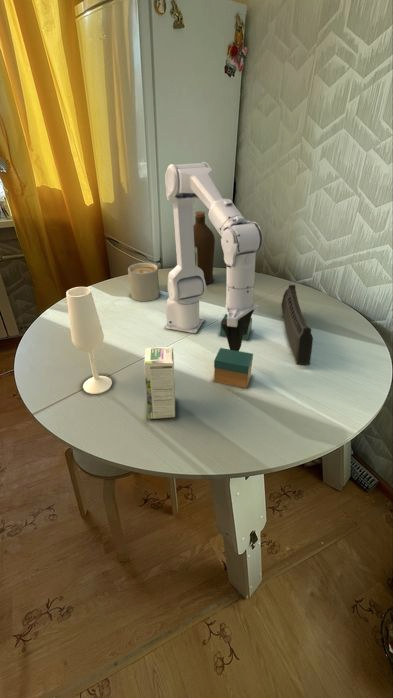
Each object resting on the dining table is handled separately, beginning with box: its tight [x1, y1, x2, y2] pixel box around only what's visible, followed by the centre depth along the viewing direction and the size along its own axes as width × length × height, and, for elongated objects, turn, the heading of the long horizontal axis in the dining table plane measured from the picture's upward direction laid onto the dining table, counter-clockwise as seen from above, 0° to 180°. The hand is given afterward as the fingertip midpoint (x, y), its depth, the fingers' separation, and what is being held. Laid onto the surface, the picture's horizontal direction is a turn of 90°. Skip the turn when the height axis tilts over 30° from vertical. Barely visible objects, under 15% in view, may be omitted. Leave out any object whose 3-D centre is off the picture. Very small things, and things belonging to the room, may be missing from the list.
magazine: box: [281, 284, 314, 367], centre depth 98 cm, size 17×3×30 cm
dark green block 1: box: [220, 313, 253, 334], centre depth 101 cm, size 8×5×2 cm
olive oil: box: [193, 210, 216, 285], centre depth 128 cm, size 11×11×25 cm
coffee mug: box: [127, 262, 160, 302], centre depth 123 cm, size 13×10×10 cm
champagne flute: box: [65, 286, 113, 395], centre depth 77 cm, size 7×7×24 cm
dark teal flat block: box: [213, 347, 254, 374], centre depth 82 cm, size 8×5×2 cm
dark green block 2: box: [219, 324, 253, 341], centre depth 102 cm, size 8×5×2 cm
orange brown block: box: [213, 363, 253, 381], centre depth 84 cm, size 8×5×2 cm, turn 72°
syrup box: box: [143, 346, 176, 420], centre depth 73 cm, size 6×6×14 cm
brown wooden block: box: [213, 371, 252, 389], centre depth 85 cm, size 8×5×2 cm, turn 72°
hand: (238, 341), depth 80 cm, fingers open, 7 cm apart
